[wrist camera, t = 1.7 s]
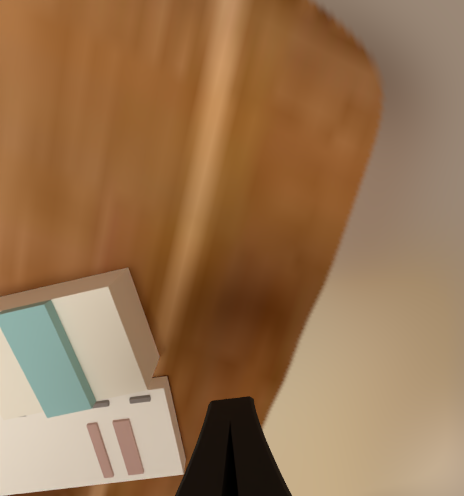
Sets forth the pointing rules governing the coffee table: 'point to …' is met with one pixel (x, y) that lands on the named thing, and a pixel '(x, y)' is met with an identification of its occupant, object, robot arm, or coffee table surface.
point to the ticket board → (93, 444)
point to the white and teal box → (73, 345)
